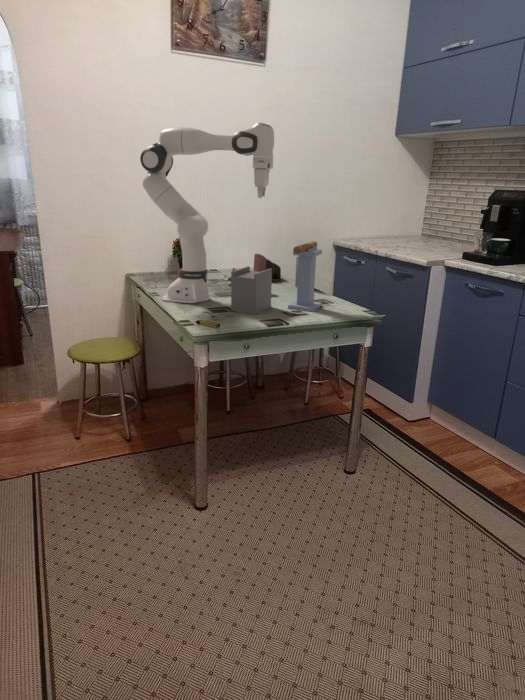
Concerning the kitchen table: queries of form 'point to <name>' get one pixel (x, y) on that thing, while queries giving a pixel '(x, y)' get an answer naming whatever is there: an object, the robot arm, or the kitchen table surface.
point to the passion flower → (230, 277)
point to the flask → (296, 271)
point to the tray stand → (250, 290)
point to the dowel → (304, 247)
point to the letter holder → (267, 266)
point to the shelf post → (306, 280)
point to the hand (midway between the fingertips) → (261, 197)
